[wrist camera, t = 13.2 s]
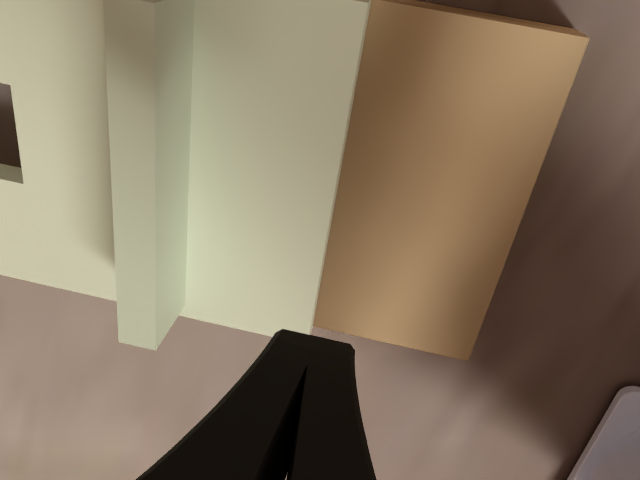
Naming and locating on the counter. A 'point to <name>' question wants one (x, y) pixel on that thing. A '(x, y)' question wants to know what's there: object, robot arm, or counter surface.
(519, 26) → the base
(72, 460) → the counter surface
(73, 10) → the cover
